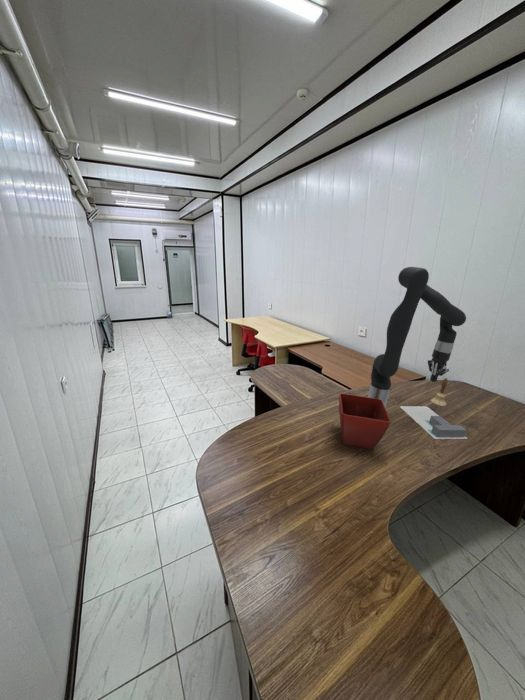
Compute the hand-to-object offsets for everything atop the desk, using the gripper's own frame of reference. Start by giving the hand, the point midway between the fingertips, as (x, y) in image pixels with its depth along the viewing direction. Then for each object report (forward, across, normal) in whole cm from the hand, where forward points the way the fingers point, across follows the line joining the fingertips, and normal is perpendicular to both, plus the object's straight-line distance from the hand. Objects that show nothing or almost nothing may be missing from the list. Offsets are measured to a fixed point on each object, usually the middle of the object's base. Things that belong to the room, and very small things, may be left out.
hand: (432, 381), depth 143 cm
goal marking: (+20, +13, 0) cm, 24 cm away
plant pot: (+21, +20, -47) cm, 55 cm away
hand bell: (+20, -13, +19) cm, 31 cm away
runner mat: (+20, +7, 0) cm, 21 cm away
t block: (+20, +14, 0) cm, 24 cm away
